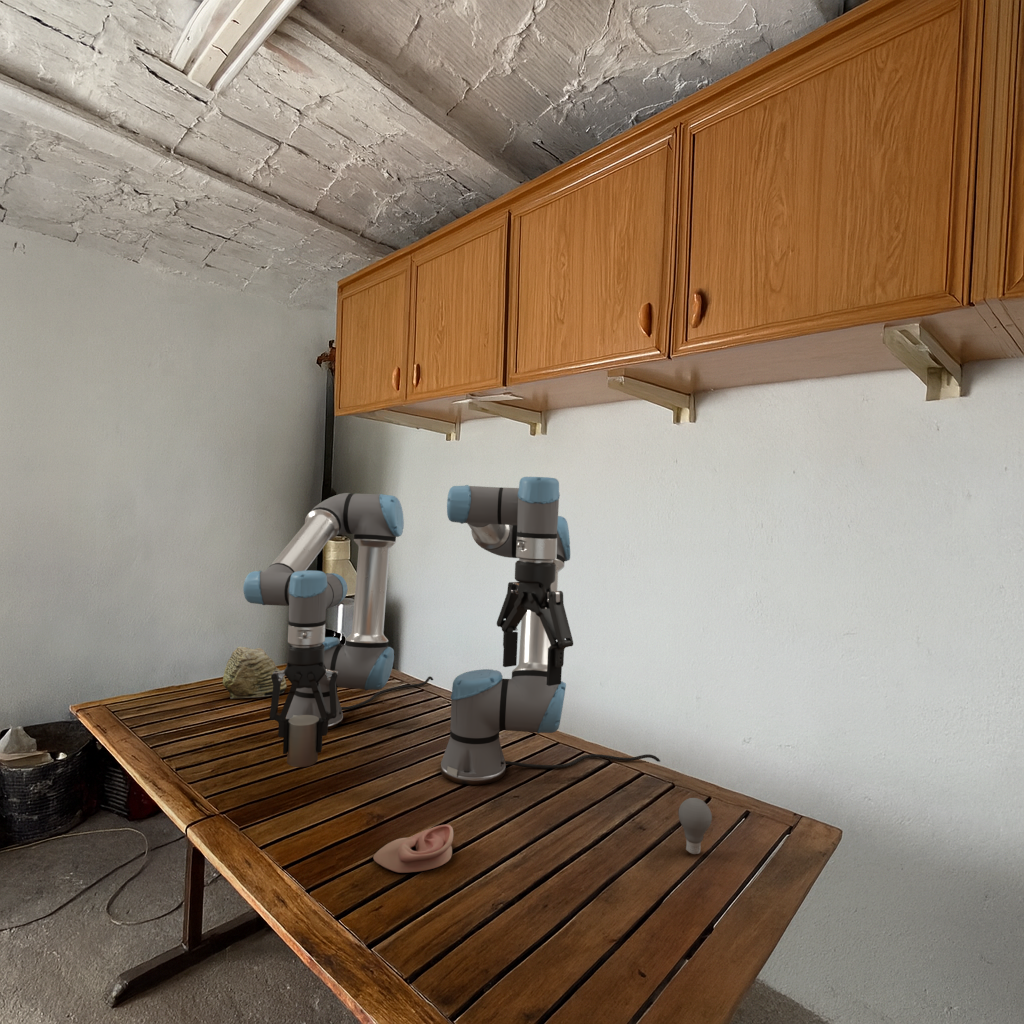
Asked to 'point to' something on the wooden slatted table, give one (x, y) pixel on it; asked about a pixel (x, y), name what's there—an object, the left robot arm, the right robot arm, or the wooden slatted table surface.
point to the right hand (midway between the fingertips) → (530, 674)
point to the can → (302, 740)
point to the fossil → (250, 674)
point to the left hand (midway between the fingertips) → (302, 750)
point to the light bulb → (694, 822)
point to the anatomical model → (417, 851)
